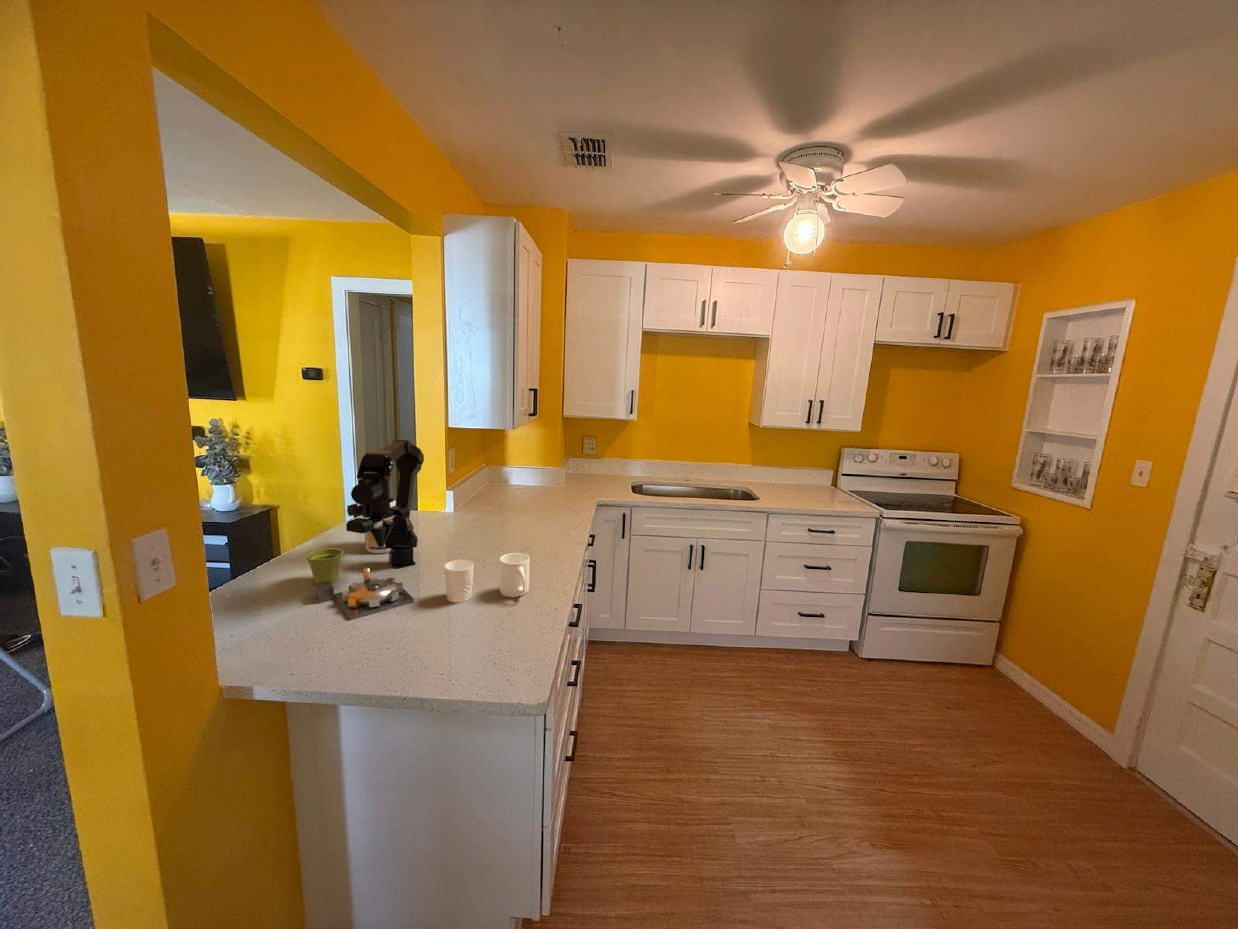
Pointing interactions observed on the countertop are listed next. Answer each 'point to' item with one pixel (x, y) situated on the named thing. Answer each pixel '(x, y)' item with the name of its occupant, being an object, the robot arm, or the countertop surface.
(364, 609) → the base plate
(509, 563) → the mug
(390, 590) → the grey cog wheel
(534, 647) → the countertop surface
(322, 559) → the plant pot
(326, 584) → the taupe rectangular block
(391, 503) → the supplement tub
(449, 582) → the white cup
